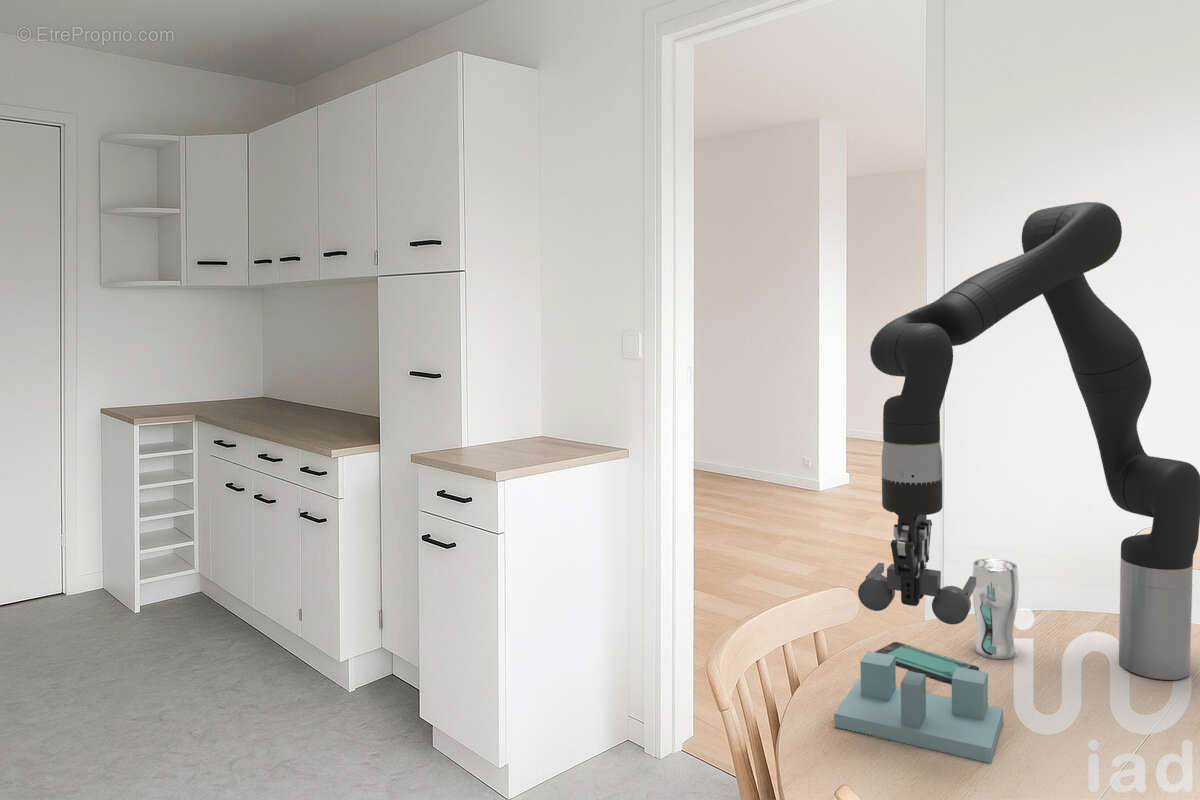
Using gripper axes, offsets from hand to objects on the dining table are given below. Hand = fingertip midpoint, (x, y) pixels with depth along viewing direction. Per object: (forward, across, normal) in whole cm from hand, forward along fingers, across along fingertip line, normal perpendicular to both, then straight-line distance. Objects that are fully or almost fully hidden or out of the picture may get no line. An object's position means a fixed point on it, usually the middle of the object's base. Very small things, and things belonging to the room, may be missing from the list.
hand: (912, 600), depth 111 cm
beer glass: (+19, +33, -6) cm, 39 cm away
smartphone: (+20, +23, +3) cm, 30 cm away
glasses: (+2, +3, 0) cm, 4 cm away
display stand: (+19, +3, 0) cm, 19 cm away
